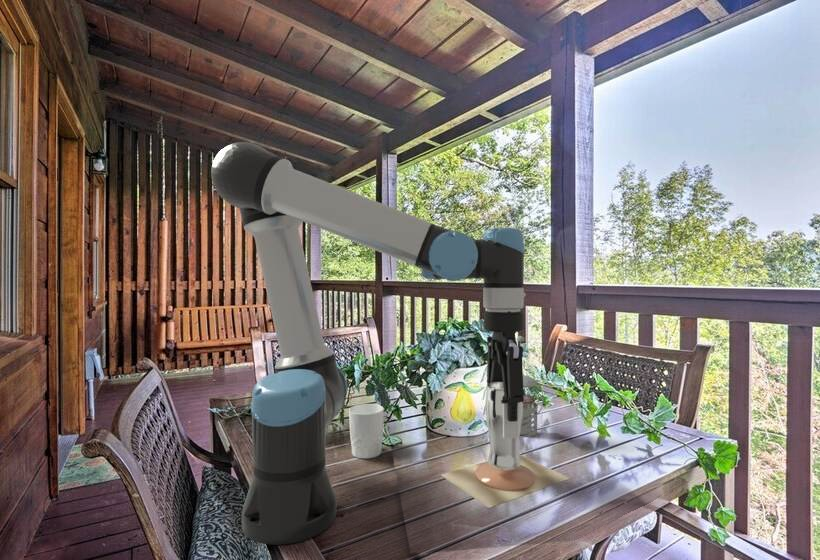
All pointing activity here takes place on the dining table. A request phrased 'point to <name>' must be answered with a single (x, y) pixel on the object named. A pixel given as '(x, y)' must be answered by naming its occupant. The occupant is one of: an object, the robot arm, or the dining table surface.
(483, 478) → the coaster
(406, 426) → the dining table surface
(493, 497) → the beige mat with oval
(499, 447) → the beer glass
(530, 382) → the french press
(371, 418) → the white cup
